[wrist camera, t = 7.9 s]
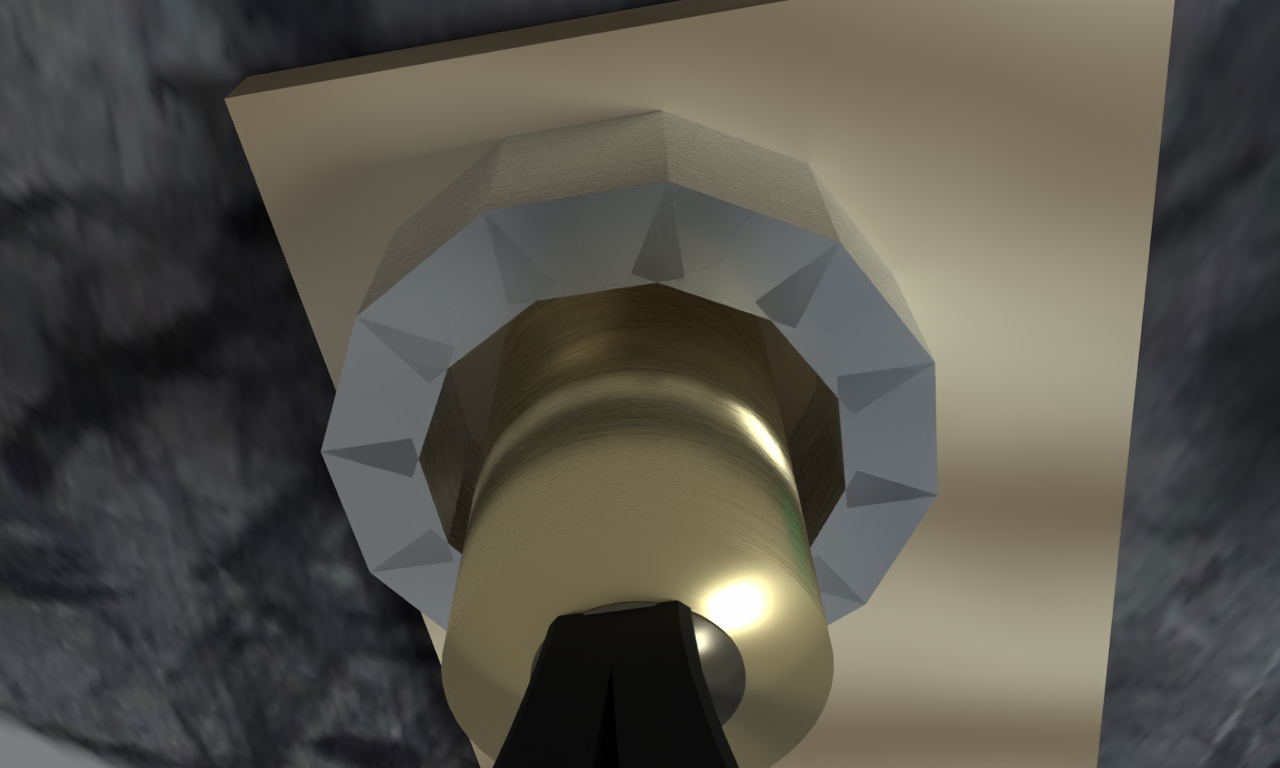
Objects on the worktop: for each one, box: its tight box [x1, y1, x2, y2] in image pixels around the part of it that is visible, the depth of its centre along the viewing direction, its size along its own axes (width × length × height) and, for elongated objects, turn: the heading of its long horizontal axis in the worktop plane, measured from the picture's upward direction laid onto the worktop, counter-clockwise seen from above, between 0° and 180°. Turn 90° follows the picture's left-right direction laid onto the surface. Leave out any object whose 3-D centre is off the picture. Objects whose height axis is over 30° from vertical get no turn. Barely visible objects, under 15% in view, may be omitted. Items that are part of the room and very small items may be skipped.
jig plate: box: [224, 0, 1175, 768], centre depth 18 cm, size 16×12×1 cm
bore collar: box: [321, 110, 938, 631], centre depth 15 cm, size 8×8×2 cm
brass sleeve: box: [441, 283, 834, 768], centre depth 13 cm, size 4×4×6 cm
